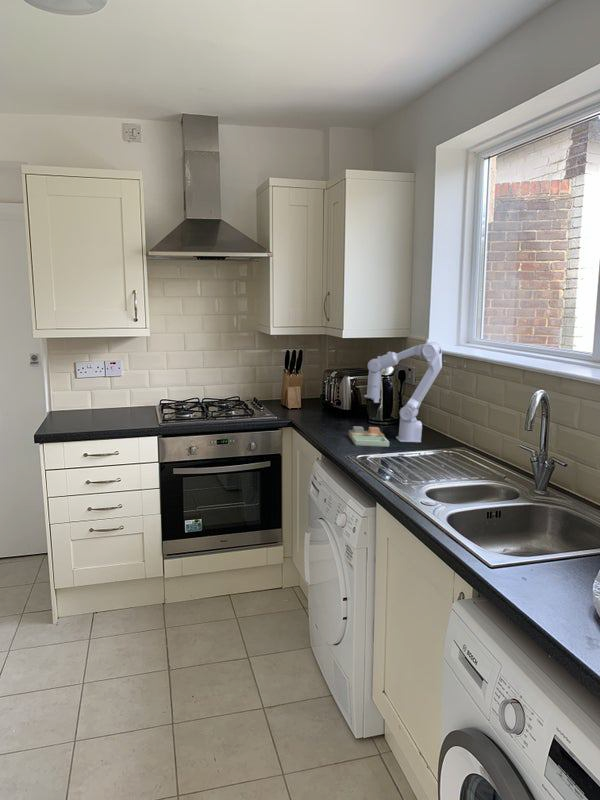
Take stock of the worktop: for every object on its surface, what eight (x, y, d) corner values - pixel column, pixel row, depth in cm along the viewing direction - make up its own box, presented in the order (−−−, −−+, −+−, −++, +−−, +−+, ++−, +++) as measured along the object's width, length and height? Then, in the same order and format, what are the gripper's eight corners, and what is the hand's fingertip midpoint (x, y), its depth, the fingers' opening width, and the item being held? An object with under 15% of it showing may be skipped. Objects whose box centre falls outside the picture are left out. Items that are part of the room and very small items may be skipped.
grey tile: (361, 431, 267) (362, 426, 266) (363, 433, 263) (363, 428, 262) (352, 430, 266) (353, 426, 266) (354, 432, 262) (354, 428, 262)
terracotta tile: (377, 431, 267) (377, 427, 267) (379, 433, 263) (379, 429, 263) (368, 431, 267) (368, 426, 266) (370, 433, 263) (370, 428, 263)
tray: (384, 441, 260) (384, 436, 260) (389, 446, 252) (389, 441, 251) (351, 440, 259) (352, 435, 259) (355, 445, 250) (356, 440, 250)
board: (379, 436, 269) (380, 431, 268) (383, 441, 261) (384, 435, 260) (348, 435, 267) (349, 430, 267) (351, 439, 260) (352, 434, 259)
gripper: (362, 382, 275) (359, 412, 278) (368, 387, 261) (366, 418, 263) (377, 383, 276) (375, 412, 278) (384, 388, 262) (382, 419, 264)
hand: (371, 415), depth 271 cm, fingers open, 6 cm apart
